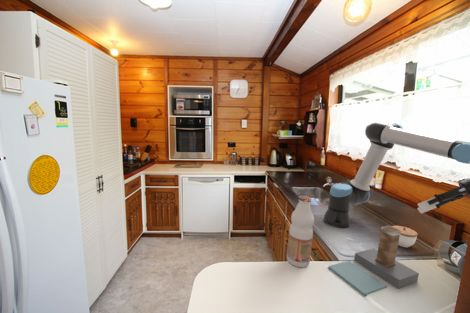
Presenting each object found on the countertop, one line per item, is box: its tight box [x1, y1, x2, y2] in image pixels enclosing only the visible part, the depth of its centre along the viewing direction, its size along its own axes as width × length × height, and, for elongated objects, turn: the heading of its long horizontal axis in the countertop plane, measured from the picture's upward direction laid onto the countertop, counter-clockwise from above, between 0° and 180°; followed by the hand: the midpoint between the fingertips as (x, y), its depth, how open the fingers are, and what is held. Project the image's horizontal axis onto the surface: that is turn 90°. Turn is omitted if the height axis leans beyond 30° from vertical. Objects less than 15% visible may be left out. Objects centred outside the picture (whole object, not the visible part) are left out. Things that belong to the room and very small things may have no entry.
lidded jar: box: [391, 225, 418, 248], centre depth 116 cm, size 11×11×9 cm
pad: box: [327, 260, 388, 297], centre depth 87 cm, size 16×12×1 cm
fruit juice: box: [286, 195, 315, 268], centre depth 94 cm, size 9×9×28 cm
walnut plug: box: [376, 225, 401, 268], centre depth 91 cm, size 5×5×18 cm
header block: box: [353, 248, 420, 289], centre depth 92 cm, size 18×12×4 cm, turn 24°
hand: (419, 209), depth 98 cm, fingers open, 13 cm apart
